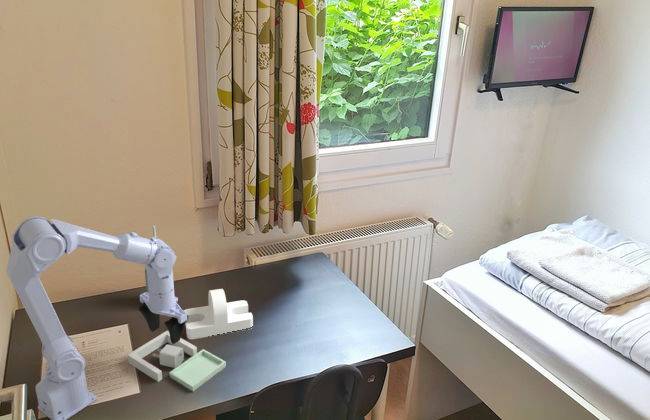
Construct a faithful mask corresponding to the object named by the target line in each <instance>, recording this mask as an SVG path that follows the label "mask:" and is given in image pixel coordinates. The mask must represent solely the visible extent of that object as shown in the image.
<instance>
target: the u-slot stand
mask: <svg viewBox="0 0 650 420" xmlns="http://www.w3.org/2000/svg"><path fill="white" fill-rule="evenodd" d="M207 294H208V297H207V298H208V299H207V301H208V305H206V306H205V305H204V306H199V307H191V308H187V309H184V310H183V311H184V312H186V313H187V315H188V320H187V322H186V323H185V325H184V327H185V333H186V338H187V339H188V340H197V339H203V338H208V336H209V337H213V336H212V335H214V336H218V335H217V334H220V335H224V334H223V333H225V334H228V333H227V332H231V333H233V332H232V331H237V330H242V329H246V328H250V327H252V326H253V327H254V316H253V313H252V312H249V304H248V301H247V300H236V301H230V302H227V298H226V293H225V290H224V289H223V288H217V289H211V290H208V293H207ZM242 331H243V330H242ZM237 332H238V331H237Z"/></svg>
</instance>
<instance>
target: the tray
mask: <svg viewBox="0 0 650 420" xmlns="http://www.w3.org/2000/svg"><path fill="white" fill-rule="evenodd" d="M226 367H227V361H225V360H223V359H222V358H221V357H219V356H217V355H214V354H213V353H212V352H209V351H207V350H205V349H204V348H203V349H201V350H200V351H197V354H195V355H194V356H190V357H189V358H188V359H186V360H185V361H183V362H182V363H181V364H180V365H179V366H178V367H176V368H173V369H172V370H171V371H169V378H170V379H172V380H174V381H175V382H177V383H178V384H180V385H182V386H183V387H184V388H186V389H188V390H189V391H191V392H192V393H193V392H195V391H196V390H198V389H199V388H200V387H201V386H203V385H204V384H206V383H207V382H209V380H211V379H212V378H213V377H215V376H216V375H217V374H218V373H220V372H221V371H222V370H224V369H225V368H226Z"/></svg>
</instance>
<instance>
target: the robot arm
mask: <svg viewBox="0 0 650 420" xmlns="http://www.w3.org/2000/svg"><path fill="white" fill-rule="evenodd" d="M50 221H51V222H52V223H51V222H50ZM11 235H12V236H11V239H12V240H11V242H12V243H11V247H10V252H9V258H8V262H7V266H6V273H7V276H8V279H9V281H10V282H11V284H12V286H13V287H14V289H15V290H14V291H15V292H16V293H17V296H18V298H19V300H20V302H21V304H22V306H23V307H24V309H25V311H26V313H27V316H28V317H29V319H30V321H31V323H32V325H33V327H34V329H35V331H36V334H37V335H38V337H39V340H40V342H41V344H42V346H41V355H42V356H43V358H44V359H45V360H46V363H47V364H48V366H47V370H46V375H45V376H44V377H43V378H42V379H41V380H40V381H39V382H37V384H35V393H36V397H37V402H38V406H37V409H38V410H39V411H41V412H42V413H43V414H44V415H45V416H47V418H49V419H50V420H68V419H70V418H71V417H73V416H74V415H76V414H78V413H79V412H80V411H82V410H83V409H86V407H88V406H90V405H91V404H93V403H94V402H96V401H97V399H98V397H97V395H96V394H94V393H92V392H91V391H89V389H88V384H87V378H86V371H85V368H86V360H85V358H84V357H83V356H82V355H81V353H80V352H79V351H78V349H77V347H76V345H75V344H74V341H73V339H72V338H71V336H69V335H67V334H66V332H65V330H64V328H63V325H62V322H61V321H60V319H59V317H58V314H57V313H56V310H55V309H54V306H53V304H52V301H51V300H50V298H49V296H48V293H47V292H46V289H45V288H44V285H43V283H42V281H41V279H40V276H41V275H42V274H43V272H44V271H46V270H47V269H48V268H49V267H51V266H52V265H53V264H55V263H56V262H57V261H58V260H59V259H60V258H61V257H62V256H63V255H64V253H65V254H66V256H68V255H70V254H71V253H72V252H74V251H75V250H76V249H77V248H83V249H90V250H96V251H102V252H109V253H112V255H113V256H114V257H115V259H116V260H121V261H126V262H131V263H136V264H139V265H140V264H141V265H146V267H147V279H148V289H149V293H147V291H145V292H143V293H141V294H139V301H140V303H141V304H142V305H141V306H139V308H138V311H139V312H140V313H141V314H142V316H143V317H144V319H145V321H146V323H147V326H148V328H149V330H150V331H151V332H152V333H153V332H154V331H157V330H158V329H159V328H160V322H161V321H160V317H161V316H166V317H171V318H170V319H168V320H166V321H165V322H164V325H165V326H166V328H167V331H169V334H170V339H171V342H172V343H173V344H175V343H176V342H178V341H180V338H182V333H183V330H184V327H185V323H186V322H187V320H188V315H187V313H186V312H184V310H183V309H182V308H181V306H180V305H179V304H178V301H179V297H177V296H175V286H174V285H175V284H174V283H175V282H174V270H173V267H174V265H175V263H176V261H177V255H176V254H175V251H174V250H173V249H172V247H170V246H169V245H168V244H167V243H165V241H164V240H162V239H160V238H158V237H157V236H156V237H153V236H152V237H149V238H146V237H142V236H140V235H138V233H136V232H134V231H130V232H129V233H126V232H124V233H120V234H119V235H117V236H114V235H110V234H106V233H104V232H100V231H96V230H92V229H90V228H87V227H82V226H80V225H79V226H78V225H75V224H72V223H68V222H67V221H62V220H59V219H55V218H50V219H49V220H48V219H47V218H45V217H44V216H37V215H36V216H29V217H28V218H25V219H24V220H23V221H21V222H20V224H19V225H18V227H17V228H16V229H15V230H14V232H13V233H12V234H11ZM160 315H161V316H160Z"/></svg>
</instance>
